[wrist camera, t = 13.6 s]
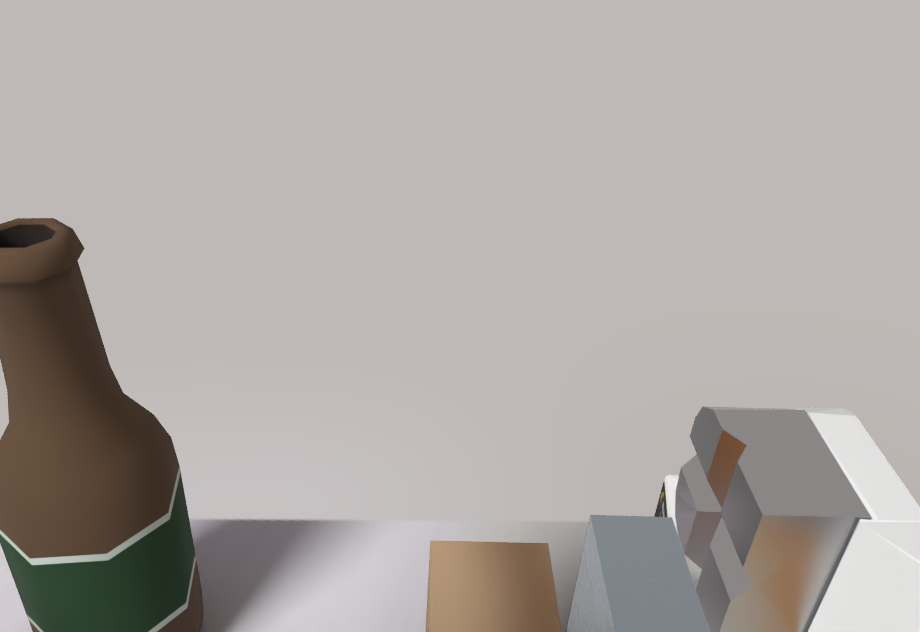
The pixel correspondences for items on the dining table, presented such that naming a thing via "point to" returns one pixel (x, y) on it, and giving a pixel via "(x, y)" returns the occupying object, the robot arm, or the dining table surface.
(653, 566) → the rail and cabinet
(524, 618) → the carriage
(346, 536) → the dining table surface
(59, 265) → the beer bottle
